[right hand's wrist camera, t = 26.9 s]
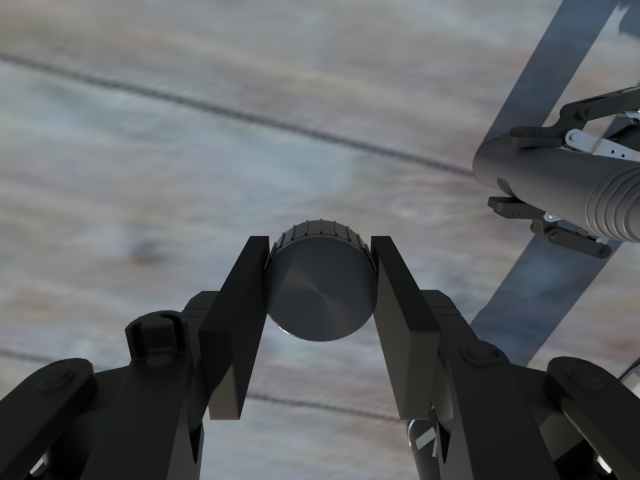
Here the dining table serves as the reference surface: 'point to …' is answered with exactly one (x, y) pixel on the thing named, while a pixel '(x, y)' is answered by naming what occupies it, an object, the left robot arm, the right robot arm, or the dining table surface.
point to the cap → (320, 281)
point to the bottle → (567, 185)
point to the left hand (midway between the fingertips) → (499, 173)
